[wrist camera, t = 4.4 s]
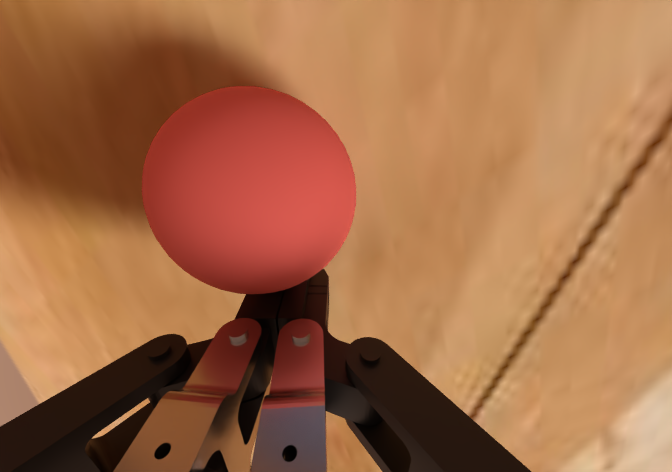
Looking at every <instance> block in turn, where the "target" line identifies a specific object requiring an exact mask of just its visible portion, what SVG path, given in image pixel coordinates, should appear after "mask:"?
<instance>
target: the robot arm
mask: <svg viewBox="0 0 672 472" xmlns="http://www.w3.org/2000/svg"><path fill="white" fill-rule="evenodd" d="M328 315H329V277H328V275H327V273H326V272H325V270H324V269H322V270H321V271H319V272H318V273H317V274H315V275H314V276H312V277H311V278H309V279H308V280H306V281H304V282H302V283H300V284H298V285H296V286H294V287H291V288H288V289H285V290H282V291H278V292H273V293H266V294H246V296H245V298H244V300H243V302H242V304H241V307H240V309H239V311H238V313H237V315H236V317H235V320H232V321H230V322H228V323H226V324H225V325H224V326H222V327H221V328H220V329H219V330H218V332H217V333H216V335H215V337H214V338H212V339H209V340H205V341H201V342H197V343H193V344H189V345H187V343H186V340H185V339H184V337H182V336H180V335H177V334H167V335H163V336H159V337H157V338H154V339H153V340H151V341H149V342H147V343H145V344H144V345H142V346H140V347H138V348H137V349H135V350H133V351H131V352H130V353H128V354H126V355H124V356H123V357H121V358H119V359H117V360H116V361H114V362H112V363H110V364H109V365H107V366H105V367H103V368H102V369H100V370H98V371H97V372H95V373H93V374H91V375H90V376H88V377H86V378H84V379H83V380H81V381H79V382H77V383H76V384H74V385H72V386H70V387H69V388H67V389H65V390H63V391H62V392H60V393H58V394H56V395H55V396H53V397H51V398H49V399H48V400H46V401H44V402H42V403H41V404H39V405H37V406H35V407H34V408H32V409H30V410H29V411H27V412H25V413H23V414H22V415H20V416H18V417H16V418H15V419H13V420H11V421H9V422H8V423H6V424H4V425H3V426H1V427H0V472H327V445H326V411H327V412H330V413H333V414H335V415H338V416H340V417H343V418H345V420H346V422H347V424H348V426H349V427H350V429H351V430H352V431H353V433H354V434H355V435H356V437H357V438H358V439H359V441H360V442H361V443H362V445H363V446H364V447H365V449H366V450H367V451H368V453H369V454H370V455H371V457H372V458H373V459H374V461H375V462H376V463H377V465H378V466H379V467H380V469H381V470H382V472H531V471H530V470H529V469H528V468H527V467H525V466H524V465H523V464H522V463H521V462H520V461H519V460H518V459H516V458H515V457H514V456H513V455H512V454H511V453H510V452H508V451H507V450H506V449H505V448H504V447H503V446H502V445H501V444H499V443H498V442H497V441H496V440H495V439H494V438H493V437H491V436H490V435H489V434H488V433H487V432H486V431H485V430H484V429H482V428H481V427H480V426H479V425H478V424H477V423H476V422H474V421H473V420H472V419H471V418H470V417H469V416H468V415H467V414H465V413H464V412H463V411H462V410H461V409H460V408H459V407H457V406H456V405H455V404H454V403H453V402H452V401H451V400H450V399H448V398H447V397H446V396H445V395H444V394H443V393H442V392H440V391H439V390H438V389H437V388H436V387H435V386H434V385H433V384H431V383H430V382H429V381H428V380H427V379H426V378H425V377H423V376H422V375H421V374H420V373H419V372H418V371H417V370H416V369H414V368H413V367H412V366H411V365H410V364H409V363H408V362H406V361H405V360H404V359H403V358H402V357H401V356H400V355H399V354H397V353H396V352H395V351H394V350H393V349H392V348H391V347H389V346H388V345H387V344H386V343H385V342H383V341H381V340H379V339H376V338H371V337H364V338H360V339H357V340H355V341H353V342H352V343H351V344H348V343H345V342H342V341H339V340H337V339H335V338H334V337H333V336H332V335H331V334H330V333H329V332H328ZM271 377H272V380H271ZM270 381H271V383H270ZM147 398H148V399H149V401H150V403H149V404H147V405H146V406H144V407H143V408H141V409H140V410H139V411H137V412H136V413H134V414H133V415H132V416H130V417H129V418H127V419H126V420H125V421H123V422H122V423H120V424H119V425H118V426H116V427H115V428H113V429H112V430H111V431H109V432H108V433H106V434H105V435H103V436H101V437H98V438H94V439H91V438H92V437H93V436H94V435H95V434H97V433H98V432H99V431H101V430H102V429H104V428H105V427H107V426H108V425H109V424H111V423H112V422H114V421H115V420H117V419H118V418H119V417H121V416H122V415H124V414H125V413H127V412H128V411H129V410H131V409H132V408H134V407H135V406H137V405H138V404H139V403H141V402H142V401H144V400H145V399H147ZM256 436H257V437H256ZM255 439H256V443H255V448H254V454H253V460H252V466H251V471H250V460H251V453H252V449H253V445H254V442H255Z"/></svg>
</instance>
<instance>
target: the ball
mask: <svg viewBox="0 0 672 472" xmlns="http://www.w3.org/2000/svg"><path fill="white" fill-rule="evenodd" d="M142 197H143V204H144V209H145V212H146V215H147V218H148V221H149V225H150V227H151V229H152V231H153V233H154V235H155V237H156V239H157V240H158V242H159V243H160V245H161V246H162V247H163V249H164V250H165V252H166V253H167V254H168V256H169V257H170V258H171V259H172V260H173V261H174V262H175V263H176V264H177V265H178V266H180V267H181V268H182V269H183V270H184V271H186V272H187V273H189V274H190V275H191V276H193V277H194V278H196V279H198V280H200V281H202V282H204V283H206V284H208V285H210V286H212V287H215V288H218V289H221V290H225V291H230V292H234V293H240V294H266V293H273V292H278V291H282V290H285V289H288V288H291V287H294V286H296V285H298V284H300V283H302V282H304V281H306V280H308V279H309V278H311V277H312V276H314V275H315V274H317V273H318V272H319V271H321V270H322V269H323V268H324V267H325V266H326V265H327V264H328V263H329V262H330V261H331V260H332V258H333V257H334V256H335V255H336V254H337V252H338V251H339V249H340V248H341V246H342V245H343V243H344V241H345V239H346V237H347V235H348V233H349V230H350V227H351V224H352V221H353V216H354V211H355V206H356V184H355V176H354V172H353V168H352V164H351V161H350V158H349V156H348V154H347V151H346V149H345V147H344V145H343V143H342V142H341V140H340V138H339V137H338V135H337V134H336V132H335V131H334V130H333V129H332V127H331V126H330V125H329V124H328V122H327V121H326V120H325V119H323V118H322V117H321V116H320V115H319V114H318V113H317V112H316V111H315V110H313V109H312V108H310V107H309V106H307V105H306V104H305V103H303V102H301V101H300V100H298V99H296V98H294V97H292V96H290V95H287V94H285V93H282V92H279V91H276V90H273V89H268V88H262V87H256V86H233V87H226V88H221V89H217V90H214V91H211V92H208V93H205V94H202V95H200V96H198V97H196V98H195V99H193V100H191V101H189V102H187V103H186V104H184V105H183V106H182V107H181V108H179V109H178V110H177V111H176V112H174V113H173V114H172V115H171V116H170V117H169V118H168V120H167V121H166V122H165V123H164V124H163V125H162V126H161V128H160V129H159V131H158V132H157V134H156V136H155V137H154V139H153V141H152V143H151V145H150V148H149V151H148V153H147V156H146V159H145V163H144V168H143V175H142Z"/></svg>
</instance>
